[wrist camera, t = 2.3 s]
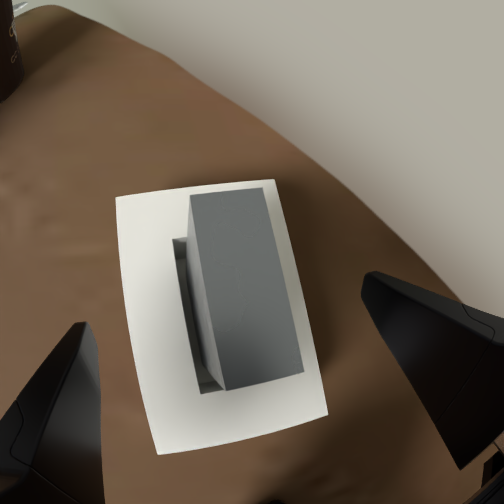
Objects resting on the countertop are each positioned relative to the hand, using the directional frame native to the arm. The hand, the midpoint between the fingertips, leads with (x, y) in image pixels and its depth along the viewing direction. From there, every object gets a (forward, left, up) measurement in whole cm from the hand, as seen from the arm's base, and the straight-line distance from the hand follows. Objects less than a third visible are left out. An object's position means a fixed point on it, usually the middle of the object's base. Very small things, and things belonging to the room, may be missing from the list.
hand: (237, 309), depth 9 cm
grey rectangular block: (0, 0, -8) cm, 8 cm away
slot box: (0, 0, -9) cm, 9 cm away
